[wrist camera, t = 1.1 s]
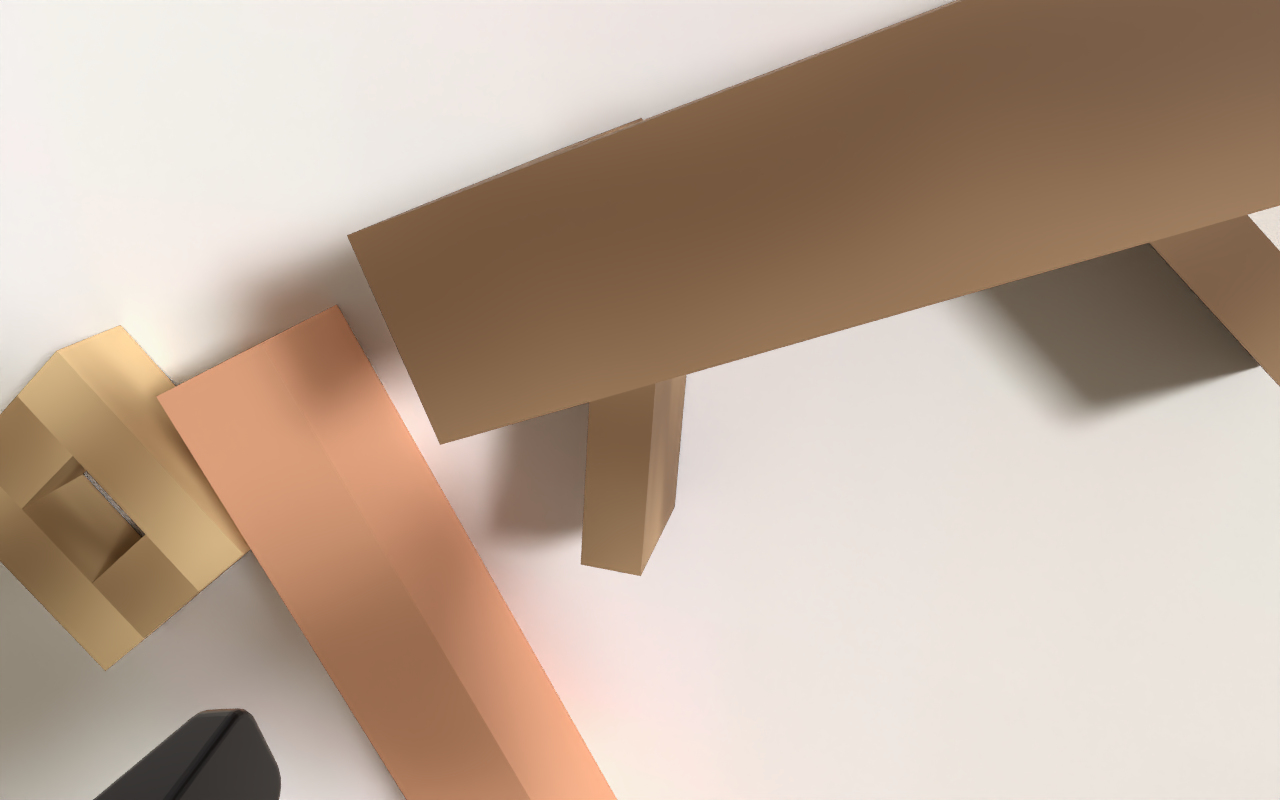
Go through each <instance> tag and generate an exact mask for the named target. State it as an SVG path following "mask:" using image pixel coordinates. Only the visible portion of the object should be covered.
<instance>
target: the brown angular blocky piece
mask: <svg viewBox="0 0 1280 800" xmlns="http://www.w3.org/2000/svg"><path fill="white" fill-rule="evenodd" d="M1279 205H1280V0H956V1H954V2H951V3H949V4H946V5H943V6H941V7H938V8H935V9H933V10H930V11H928V12H925V13H922V14H920V15H917V16H915V17H912V18H909V19H907V20H904V21H901V22H899V23H896V24H894V25H891V26H888V27H886V28H883V29H881V30H878V31H875V32H873V33H870V34H867V35H865V36H862V37H860V38H857V39H854V40H852V41H849V42H847V43H844V44H841V45H839V46H836V47H834V48H831V49H828V50H826V51H823V52H820V53H818V54H815V55H813V56H810V57H807V58H805V59H802V60H800V61H797V62H794V63H792V64H789V65H786V66H784V67H781V68H779V69H776V70H773V71H771V72H768V73H766V74H763V75H760V76H758V77H755V78H752V79H750V80H747V81H745V82H742V83H739V84H737V85H734V86H732V87H729V88H726V89H724V90H721V91H718V92H716V93H713V94H711V95H708V96H705V97H703V98H700V99H698V100H695V101H692V102H690V103H687V104H684V105H682V106H679V107H677V108H674V109H671V110H669V111H666V112H664V113H661V114H658V115H656V116H653V117H651V118H648V119H645V120H642V118H640V119H638V120H635V121H633V122H630V123H627V124H625V125H622V126H620V127H617V128H614V129H612V130H609V131H607V132H604V133H601V134H599V135H596V136H593V137H591V138H588V139H586V140H583V141H580V142H578V143H575V144H573V145H570V146H567V147H565V148H562V149H560V150H557V151H554V152H552V153H549V154H547V155H544V156H542V157H539V158H537V159H534V160H532V161H530V162H527V163H525V164H522V165H520V166H517V167H515V168H512V169H510V170H507V171H505V172H502V173H500V174H497V175H495V176H493V177H490V178H488V179H485V180H483V181H480V182H478V183H475V184H473V185H470V186H468V187H465V188H463V189H460V190H458V191H456V192H453V193H451V194H448V195H446V196H443V197H441V198H438V199H436V200H433V201H431V202H428V203H426V204H424V205H421V206H419V207H416V208H414V209H411V210H409V211H406V212H404V213H401V214H399V215H396V216H394V217H391V218H389V219H387V220H384V221H382V222H379V223H377V224H374V225H372V226H369V227H367V228H364V229H362V230H359V231H357V232H354V233H352V234H350V235H347V236H348V239H349V241H350V243H351V245H352V248H353V250H354V252H355V254H356V257H357V259H358V261H359V263H360V266H361V268H362V270H363V272H364V275H365V277H366V279H367V281H368V284H369V286H370V288H371V290H372V293H373V295H374V297H375V299H376V302H377V304H378V306H379V308H380V310H381V313H382V315H383V317H384V319H385V322H386V324H387V326H388V328H389V331H390V333H391V335H392V337H393V340H394V342H395V344H396V346H397V349H398V351H399V353H400V355H401V358H402V360H403V362H404V364H405V367H406V369H407V371H408V373H409V376H410V378H411V380H412V382H413V385H414V387H415V389H416V391H417V394H418V396H419V398H420V400H421V403H422V405H423V407H424V409H425V412H426V414H427V416H428V418H429V421H430V423H431V425H432V427H433V430H434V432H435V434H436V436H437V439H438V441H439V443H440V445H441V444H444V443H448V442H451V441H455V440H458V439H462V438H465V437H469V436H472V435H476V434H480V433H483V432H487V431H490V430H494V429H497V428H501V427H504V426H508V425H511V424H515V423H518V422H522V421H525V420H529V419H532V418H536V417H539V416H543V415H546V414H550V413H553V412H557V411H560V410H564V409H567V408H571V407H574V406H578V405H581V404H585V403H588V402H589V416H588V436H587V455H586V474H585V494H584V513H583V532H582V552H581V564H582V565H587V566H592V567H597V568H602V569H608V570H613V571H618V572H623V573H628V574H633V575H639V576H641V574H642V572H643V570H644V568H645V566H646V564H647V562H648V560H649V558H650V556H651V554H652V552H653V550H654V548H655V546H656V544H657V542H658V540H659V538H660V536H661V534H662V532H663V530H664V527H665V525H666V523H667V521H668V519H669V517H670V515H671V513H672V511H673V509H674V507H675V497H676V485H677V474H678V463H679V452H680V440H681V429H682V418H683V406H684V395H685V384H686V374H690V373H693V372H697V371H700V370H704V369H707V368H711V367H714V366H718V365H722V364H725V363H729V362H732V361H736V360H739V359H743V358H746V357H750V356H753V355H757V354H760V353H764V352H767V351H771V350H774V349H778V348H781V347H785V346H788V345H792V344H795V343H799V342H802V341H806V340H809V339H813V338H816V337H820V336H823V335H827V334H830V333H834V332H837V331H841V330H844V329H848V328H851V327H855V326H858V325H862V324H865V323H869V322H872V321H876V320H879V319H883V318H886V317H890V316H893V315H897V314H900V313H904V312H907V311H911V310H914V309H918V308H921V307H925V306H928V305H932V304H935V303H939V302H942V301H946V300H949V299H953V298H956V297H960V296H964V295H967V294H971V293H974V292H978V291H981V290H985V289H988V288H992V287H995V286H999V285H1002V284H1006V283H1009V282H1013V281H1016V280H1020V279H1023V278H1027V277H1030V276H1034V275H1037V274H1041V273H1044V272H1048V271H1051V270H1055V269H1058V268H1062V267H1065V266H1069V265H1072V264H1076V263H1079V262H1083V261H1086V260H1090V259H1093V258H1097V257H1100V256H1104V255H1107V254H1111V253H1114V252H1118V251H1121V250H1125V249H1128V248H1132V247H1135V246H1139V245H1142V244H1146V243H1149V244H1150V245H1151V246H1152V247H1153V248H1154V249H1155V250H1156V251H1157V252H1158V254H1159V255H1160V256H1161V257H1162V258H1163V259H1164V260H1165V261H1166V262H1167V263H1168V265H1169V266H1170V267H1171V268H1172V269H1173V270H1174V271H1175V272H1176V273H1177V274H1178V276H1179V277H1180V278H1181V279H1182V280H1183V281H1184V282H1185V283H1186V284H1187V285H1188V287H1189V288H1190V289H1191V290H1192V291H1193V292H1194V293H1195V294H1196V295H1197V296H1198V298H1199V299H1200V300H1201V301H1202V302H1203V303H1204V304H1205V305H1206V306H1207V307H1208V309H1209V310H1210V311H1211V312H1212V313H1213V314H1214V315H1215V316H1216V317H1217V318H1218V320H1219V321H1220V322H1221V323H1222V324H1223V325H1224V326H1225V327H1226V328H1227V329H1228V331H1229V332H1230V333H1231V334H1232V335H1233V336H1234V337H1235V338H1236V339H1237V340H1238V342H1239V343H1240V344H1241V345H1242V346H1243V347H1244V348H1245V349H1246V350H1247V351H1248V353H1249V354H1250V355H1251V356H1252V357H1253V358H1254V359H1255V360H1256V361H1257V362H1258V364H1259V365H1260V366H1261V367H1262V368H1263V369H1264V370H1265V371H1266V372H1267V373H1268V374H1269V375H1270V377H1271V378H1272V379H1273V380H1274V381H1275V382H1276V383H1277V384H1278V385H1279V386H1280V251H1279V250H1278V249H1277V248H1276V247H1275V245H1274V244H1273V243H1272V242H1271V241H1270V240H1269V239H1268V238H1267V236H1266V235H1265V234H1264V233H1263V232H1262V231H1261V230H1260V229H1259V228H1258V226H1257V225H1256V224H1255V223H1254V222H1253V221H1252V220H1251V219H1250V217H1249V216H1248V214H1251V213H1255V212H1258V211H1262V210H1265V209H1269V208H1272V207H1276V206H1279Z"/></svg>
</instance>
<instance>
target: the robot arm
mask: <svg viewBox="0 0 1280 800" xmlns="http://www.w3.org/2000/svg"><path fill="white" fill-rule="evenodd" d="M280 790H281V777H280V772H279V768H278V765H277V763H276V761H275V759H274V757H273V755H272V753H271V751H270V749H269V747H268V745H267V743H266V741H265V739H264V737H263V735H262V733H261V731H260V729H259V727H258V725H257V723H256V721H255V719H254V717H253V716H252V715H251V714H250V713H249V712H247V711H246V710H244V709H216V710H206V711H202V712H200V713H198V714H196V715H195V716H194V717H192V718H191V719H190V720H188V721H187V722H186V723H185V724H184V725H182V726H181V727H180V728H179V729H178V730H176V731H175V732H174V733H173V734H172V735H170V736H169V737H168V738H167V739H166V740H164V741H163V742H162V743H161V744H160V745H158V746H157V747H156V748H155V749H154V750H152V751H151V752H150V753H149V754H148V755H146V756H145V757H144V758H143V759H142V760H140V761H139V762H138V763H137V764H136V765H134V766H133V767H132V768H131V769H130V770H128V771H127V772H126V773H125V774H124V775H122V776H121V777H120V778H119V779H118V780H116V781H115V782H114V783H113V784H111V785H110V786H109V787H108V788H107V789H105V790H104V791H103V792H102V793H101V794H99V795H98V796H97V797H96V798H95V799H93V800H279V797H280Z"/></svg>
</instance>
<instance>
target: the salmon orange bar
mask: <svg viewBox="0 0 1280 800" xmlns="http://www.w3.org/2000/svg"><path fill="white" fill-rule="evenodd" d="M156 397H157V399H158V401H159V402H160V404H161V405H162V407H163V409H164V410H165V412H166V413H167V415H168V417H169V418H170V420H171V421H172V423H173V425H174V426H175V428H176V430H177V431H178V433H179V434H180V436H181V438H182V439H183V441H184V442H185V444H186V446H187V447H188V449H189V450H190V452H191V454H192V455H193V457H194V459H195V460H196V462H197V463H198V465H199V467H200V468H201V470H202V471H203V473H204V475H205V476H206V478H207V479H208V481H209V483H210V484H211V486H212V487H213V489H214V491H215V492H216V494H217V496H218V497H219V499H220V500H221V502H222V504H223V505H224V507H225V508H226V510H227V512H228V513H229V515H230V516H231V518H232V520H233V521H234V523H235V525H236V526H237V528H238V529H239V531H240V533H241V534H242V536H243V537H244V539H245V541H246V542H247V544H248V545H249V547H250V549H251V550H252V552H253V553H254V555H255V557H256V558H257V560H258V562H259V563H260V565H261V566H262V568H263V570H264V571H265V573H266V574H267V576H268V578H269V579H270V581H271V582H272V584H273V586H274V587H275V589H276V591H277V592H278V594H279V595H280V597H281V599H282V600H283V602H284V603H285V605H286V607H287V608H288V610H289V611H290V613H291V615H292V616H293V618H294V619H295V621H296V623H297V624H298V626H299V628H300V629H301V631H302V632H303V634H304V636H305V637H306V639H307V640H308V642H309V644H310V645H311V647H312V648H313V650H314V652H315V653H316V655H317V657H318V658H319V660H320V661H321V663H322V665H323V666H324V668H325V669H326V671H327V673H328V674H329V676H330V677H331V679H332V681H333V682H334V684H335V685H336V687H337V689H338V690H339V692H340V694H341V695H342V697H343V698H344V700H345V702H346V703H347V705H348V706H349V708H350V710H351V711H352V713H353V714H354V716H355V718H356V719H357V721H358V723H359V724H360V726H361V727H362V729H363V731H364V732H365V734H366V735H367V737H368V739H369V740H370V742H371V743H372V745H373V747H374V748H375V750H376V751H377V753H378V755H379V756H380V758H381V760H382V761H383V763H384V764H385V766H386V768H387V769H388V771H389V772H390V774H391V776H392V777H393V779H394V780H395V782H396V784H397V785H398V787H399V789H400V790H401V792H402V793H403V795H404V797H405V798H406V800H617V799H616V797H615V795H614V793H613V792H612V790H611V788H610V786H609V785H608V783H607V781H606V779H605V777H604V776H603V774H602V772H601V770H600V769H599V767H598V765H597V763H596V762H595V760H594V758H593V756H592V755H591V753H590V751H589V749H588V747H587V746H586V744H585V742H584V740H583V739H582V737H581V735H580V733H579V732H578V730H577V728H576V726H575V724H574V723H573V721H572V719H571V717H570V716H569V714H568V712H567V710H566V709H565V707H564V705H563V703H562V701H561V700H560V698H559V696H558V694H557V693H556V691H555V689H554V687H553V686H552V684H551V682H550V680H549V678H548V677H547V675H546V673H545V671H544V670H543V668H542V666H541V664H540V663H539V661H538V659H537V657H536V656H535V654H534V652H533V650H532V648H531V647H530V645H529V643H528V641H527V640H526V638H525V636H524V634H523V633H522V631H521V629H520V627H519V625H518V624H517V622H516V620H515V618H514V617H513V615H512V613H511V611H510V610H509V608H508V606H507V604H506V602H505V601H504V599H503V597H502V595H501V594H500V592H499V590H498V588H497V587H496V585H495V583H494V581H493V580H492V578H491V576H490V574H489V572H488V571H487V569H486V567H485V565H484V564H483V562H482V560H481V558H480V557H479V555H478V553H477V551H476V549H475V548H474V546H473V544H472V542H471V541H470V539H469V537H468V535H467V534H466V532H465V530H464V528H463V526H462V525H461V523H460V521H459V519H458V518H457V516H456V514H455V512H454V511H453V509H452V507H451V505H450V503H449V502H448V500H447V498H446V496H445V495H444V493H443V491H442V489H441V488H440V486H439V484H438V482H437V481H436V479H435V477H434V475H433V473H432V472H431V470H430V468H429V466H428V465H427V463H426V461H425V459H424V458H423V456H422V454H421V452H420V450H419V449H418V447H417V445H416V443H415V442H414V440H413V438H412V436H411V435H410V433H409V431H408V429H407V427H406V426H405V424H404V422H403V420H402V419H401V417H400V415H399V413H398V412H397V410H396V408H395V406H394V405H393V403H392V401H391V399H390V397H389V396H388V394H387V392H386V390H385V389H384V387H383V385H382V383H381V382H380V380H379V378H378V376H377V374H376V373H375V371H374V369H373V367H372V366H371V364H370V362H369V360H368V359H367V357H366V355H365V353H364V351H363V350H362V348H361V346H360V344H359V343H358V341H357V339H356V337H355V336H354V334H353V332H352V330H351V328H350V327H349V325H348V323H347V321H346V320H345V318H344V316H343V314H342V313H341V311H340V309H339V307H338V306H337V305H335V306H333V307H331V308H329V309H327V310H325V311H323V312H321V313H319V314H317V315H315V316H313V317H311V318H309V319H307V320H305V321H303V322H301V323H299V324H297V325H295V326H293V327H291V328H289V329H287V330H285V331H283V332H281V333H279V334H278V335H276V336H274V337H272V338H270V339H268V340H266V341H264V342H262V343H260V344H258V345H256V346H254V347H252V348H250V349H248V350H246V351H244V352H242V353H240V354H238V355H236V356H234V357H232V358H230V359H228V360H226V361H224V362H222V363H220V364H218V365H217V366H215V367H213V368H211V369H209V370H207V371H205V372H203V373H201V374H199V375H197V376H195V377H193V378H191V379H189V380H187V381H186V382H184V383H182V384H180V385H178V386H176V387H174V388H172V389H170V390H168V391H166V392H164V393H162V394H160V395H158V396H156Z"/></svg>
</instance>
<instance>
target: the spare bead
mask: <svg viewBox="0 0 1280 800" xmlns="http://www.w3.org/2000/svg"><path fill="white" fill-rule="evenodd" d="M174 387H176V386H175V385H174V384H173V383H172V382H171V380H170V379H169V378H168V377H167V376H166V375H165V374H164V373H163V372H162V371H161V369H160V368H159V367H158V366H157V365H156V364H155V363H154V362H153V361H152V359H151V358H150V357H149V356H148V355H147V354H146V353H145V352H144V351H143V350H142V348H141V347H140V346H139V345H138V344H137V343H136V342H135V341H134V340H133V338H132V337H131V336H130V335H129V334H128V333H127V332H126V331H125V330H124V328H123V327H122V326H121V325H120V326H117V327H115V328H112V329H110V330H107V331H105V332H102V333H100V334H97V335H95V336H92V337H90V338H87V339H85V340H82V341H80V342H77V343H75V344H72V345H70V346H67V347H65V348H62V349H60V350H57V351H56V352H55V353H54V354H53V356H52V357H51V358H50V359H49V360H48V361H47V362H46V364H45V365H44V366H43V367H42V368H41V369H40V370H39V371H38V373H37V374H36V375H35V376H34V377H33V378H32V379H31V380H30V382H29V383H28V384H27V385H26V386H25V387H24V388H23V390H22V391H21V392H20V393H19V394H18V395H17V396H16V397H15V399H14V400H13V401H12V402H11V403H10V404H9V405H8V407H7V408H6V409H5V410H4V411H3V412H2V413H1V414H0V561H1V562H2V563H3V564H4V566H5V567H6V568H7V569H8V570H9V571H10V572H11V573H12V574H13V575H14V576H15V577H16V578H17V579H18V580H19V581H20V582H21V583H22V584H23V585H24V586H25V588H26V589H27V590H28V591H29V592H30V593H31V594H32V595H33V596H34V597H35V598H36V599H37V600H38V601H39V602H40V603H41V604H42V605H43V606H44V607H45V608H46V610H47V611H48V612H49V613H50V614H51V615H52V616H53V617H54V618H55V619H56V620H57V621H58V622H59V623H60V624H61V625H62V626H63V627H64V628H65V629H66V630H67V632H68V633H69V634H70V635H71V636H72V637H73V638H74V639H75V640H76V641H77V642H78V643H79V644H80V645H81V646H82V647H83V648H84V649H85V650H86V651H87V652H88V654H89V655H90V656H91V657H92V658H93V659H94V660H95V661H96V662H97V663H98V664H99V665H100V666H101V667H102V668H103V669H104V670H105V671H106V670H107V669H109V668H110V667H111V666H112V665H114V664H115V663H116V662H117V661H118V660H120V659H121V658H122V657H123V656H124V655H126V654H127V653H128V652H129V651H131V650H132V649H133V648H134V647H135V646H137V645H138V644H139V643H140V642H142V641H143V640H144V639H145V638H146V637H148V636H149V635H150V634H151V633H153V632H154V631H155V630H156V629H157V628H159V627H160V626H161V625H162V624H163V623H165V622H166V621H167V620H168V619H169V618H171V617H172V616H173V615H174V614H175V613H176V612H178V611H179V610H180V609H181V608H182V607H184V606H185V605H186V604H187V603H188V602H189V601H191V600H192V599H193V598H194V597H195V596H197V595H198V594H199V593H200V592H201V591H202V590H204V589H205V588H206V587H207V586H208V585H210V584H211V583H212V582H213V581H214V580H215V579H217V578H218V577H219V576H220V575H221V574H223V573H224V572H225V571H226V570H227V569H228V568H230V567H231V566H232V565H233V564H234V563H236V562H237V561H238V560H239V559H240V558H241V557H243V556H244V555H245V554H246V553H247V552H249V551H250V550H251V549H250V547H249V545H248V544H247V542H246V541H245V539H244V537H243V536H242V534H241V533H240V531H239V529H238V528H237V526H236V525H235V523H234V521H233V520H232V518H231V516H230V515H229V513H228V512H227V510H226V508H225V507H224V505H223V504H222V502H221V500H220V499H219V497H218V496H217V494H216V492H215V491H214V489H213V487H212V486H211V484H210V483H209V481H208V479H207V478H206V476H205V475H204V473H203V471H202V470H201V468H200V467H199V465H198V463H197V462H196V460H195V459H194V457H193V455H192V454H191V452H190V450H189V449H188V447H187V446H186V444H185V442H184V441H183V439H182V438H181V436H180V434H179V433H178V431H177V430H176V428H175V426H174V425H173V423H172V421H171V420H170V418H169V417H168V415H167V413H166V412H165V410H164V409H163V407H162V405H161V404H160V402H159V401H158V399H157V397H156V396H158V395H160V394H162V393H164V392H166V391H168V390H170V389H172V388H174ZM86 471H87V472H88V473H89V474H90V475H91V476H92V477H93V478H94V479H95V480H96V481H97V483H98V484H99V485H100V486H101V487H102V488H103V489H104V490H105V491H106V492H107V493H108V494H109V495H110V497H111V498H112V499H113V500H114V501H115V502H116V503H117V504H118V505H119V506H120V507H121V508H122V509H123V511H124V512H125V513H126V514H127V515H128V516H129V517H130V518H131V519H132V520H133V521H134V522H135V523H136V525H137V526H138V527H139V528H140V529H141V530H142V531H143V532H144V533H145V535H144V536H143V537H141V536H140V535H139V534H138V533H137V532H136V531H135V530H134V529H133V527H132V526H131V525H130V524H129V523H128V522H127V521H126V520H125V519H124V518H123V517H122V516H121V515H120V513H119V512H118V511H117V510H116V509H115V508H114V507H113V506H112V505H111V504H110V503H109V502H108V501H107V500H106V498H105V497H104V496H103V495H102V494H101V493H100V492H99V491H98V490H97V489H96V488H95V487H94V486H93V484H92V483H91V482H90V481H89V480H88V479H87V478H86V477H85V476H84V475H83V474H84V473H85V472H86Z"/></svg>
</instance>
